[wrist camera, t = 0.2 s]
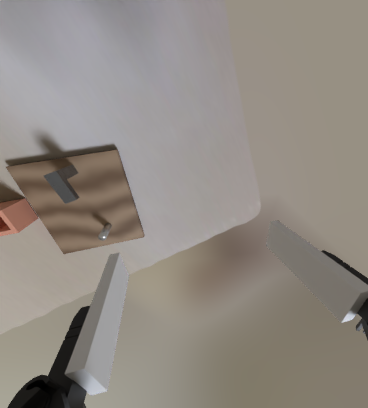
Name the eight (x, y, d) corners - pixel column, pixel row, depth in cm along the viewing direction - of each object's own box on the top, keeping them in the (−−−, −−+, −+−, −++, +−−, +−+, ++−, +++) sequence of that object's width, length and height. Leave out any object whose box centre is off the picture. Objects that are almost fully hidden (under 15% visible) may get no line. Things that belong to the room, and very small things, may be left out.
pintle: (104, 221, 40) (96, 235, 35) (111, 219, 40) (104, 233, 35) (107, 226, 41) (99, 241, 35) (113, 225, 41) (107, 239, 36)
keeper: (65, 167, 33) (42, 175, 27) (75, 163, 33) (55, 171, 27) (81, 190, 36) (65, 204, 29) (91, 187, 36) (76, 199, 29)
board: (10, 165, 31) (5, 166, 30) (117, 149, 33) (116, 149, 32) (66, 250, 42) (63, 254, 41) (144, 234, 44) (144, 237, 43)
